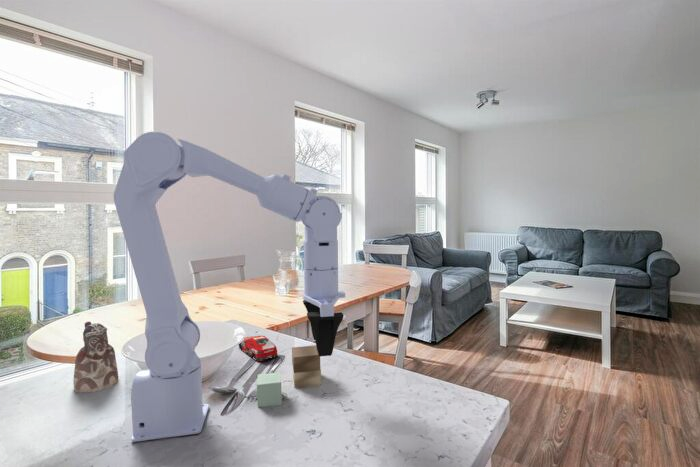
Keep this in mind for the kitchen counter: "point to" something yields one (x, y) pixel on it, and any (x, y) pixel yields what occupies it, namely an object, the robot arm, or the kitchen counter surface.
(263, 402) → the sage cube
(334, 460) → the kitchen counter surface
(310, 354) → the walnut top block
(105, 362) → the figurine
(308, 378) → the beech base block
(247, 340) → the race car
